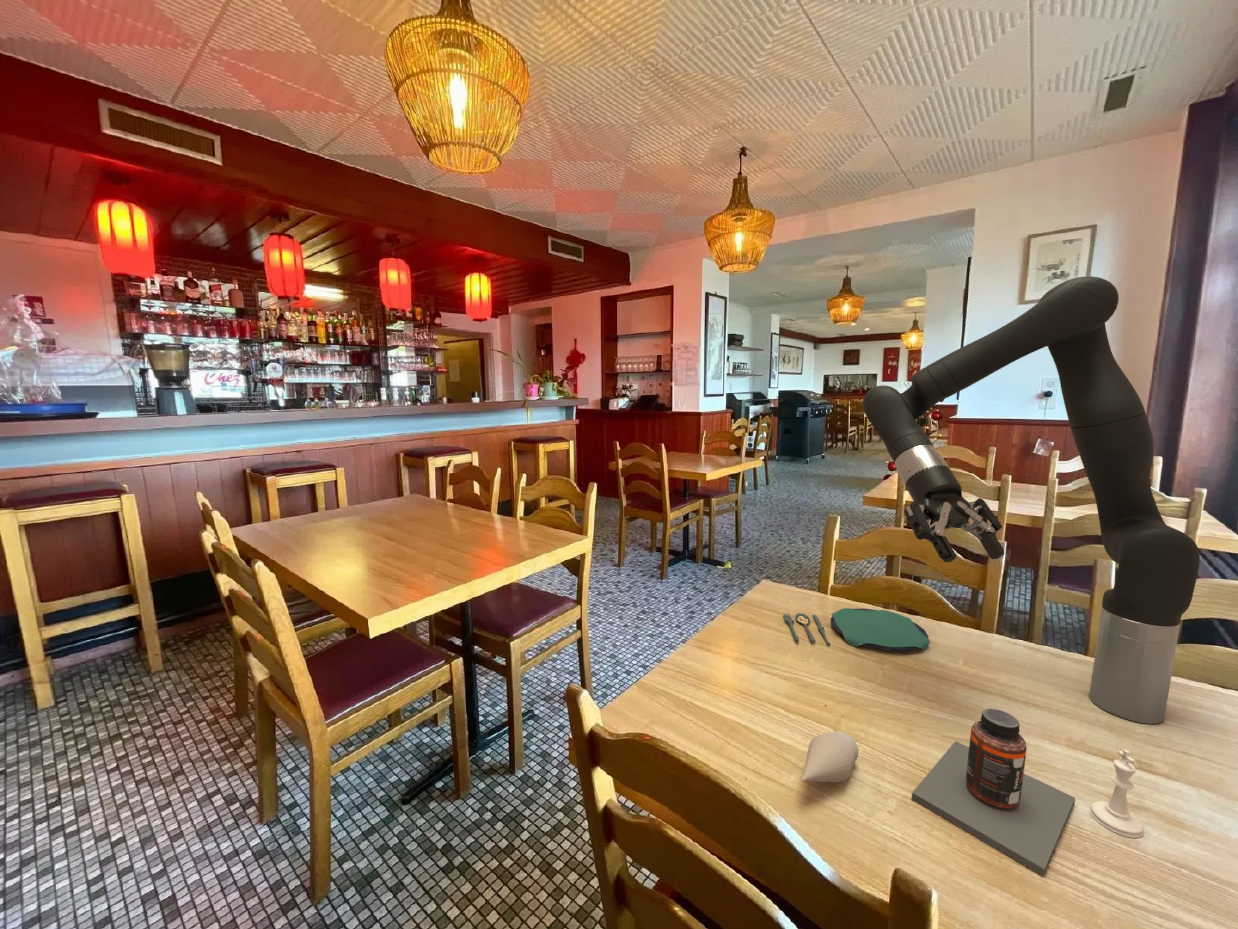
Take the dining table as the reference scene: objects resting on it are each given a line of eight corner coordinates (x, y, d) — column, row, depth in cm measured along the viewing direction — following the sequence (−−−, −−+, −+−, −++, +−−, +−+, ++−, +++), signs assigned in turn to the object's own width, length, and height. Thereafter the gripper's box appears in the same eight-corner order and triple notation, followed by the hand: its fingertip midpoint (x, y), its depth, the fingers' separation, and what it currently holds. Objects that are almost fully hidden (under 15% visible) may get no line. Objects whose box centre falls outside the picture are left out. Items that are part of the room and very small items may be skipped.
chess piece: (1114, 804, 66) (1125, 737, 65) (1155, 837, 61) (1167, 765, 60) (1079, 806, 66) (1088, 738, 65) (1117, 839, 61) (1128, 766, 60)
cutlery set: (945, 661, 102) (946, 650, 102) (794, 650, 107) (794, 640, 107) (906, 618, 122) (906, 609, 121) (779, 610, 127) (780, 602, 126)
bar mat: (954, 746, 77) (955, 741, 77) (1074, 804, 66) (1075, 797, 66) (911, 799, 68) (912, 792, 67) (1043, 877, 57) (1044, 869, 56)
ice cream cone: (794, 810, 66) (841, 769, 76) (833, 803, 62) (877, 761, 72) (772, 760, 68) (820, 727, 79) (808, 750, 65) (854, 717, 75)
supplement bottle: (1030, 816, 64) (1040, 735, 62) (977, 807, 65) (986, 729, 63) (1005, 780, 69) (1014, 706, 68) (957, 773, 71) (965, 700, 69)
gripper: (901, 465, 84) (950, 550, 75) (975, 462, 87) (1031, 545, 77) (879, 489, 90) (921, 571, 81) (948, 486, 92) (997, 566, 83)
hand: (975, 558), depth 79 cm, fingers open, 8 cm apart
